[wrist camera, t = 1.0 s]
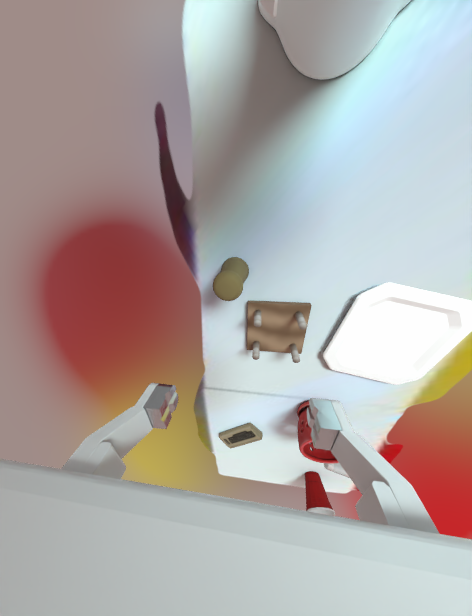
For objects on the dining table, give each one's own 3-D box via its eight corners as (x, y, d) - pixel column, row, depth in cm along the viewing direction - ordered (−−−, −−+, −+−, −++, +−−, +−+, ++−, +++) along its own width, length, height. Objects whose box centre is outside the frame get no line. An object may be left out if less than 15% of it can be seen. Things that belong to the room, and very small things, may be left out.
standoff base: (248, 300, 41) (246, 313, 35) (309, 303, 39) (317, 317, 34) (247, 346, 47) (245, 363, 42) (300, 350, 46) (305, 368, 40)
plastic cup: (323, 481, 78) (332, 522, 68) (298, 477, 80) (304, 517, 69) (327, 470, 73) (339, 513, 63) (301, 467, 75) (308, 508, 64)
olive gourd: (224, 285, 40) (212, 307, 30) (218, 259, 37) (204, 274, 27) (250, 282, 39) (247, 304, 29) (246, 255, 36) (241, 269, 26)
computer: (249, 420, 64) (249, 430, 61) (262, 431, 66) (262, 441, 64) (219, 431, 70) (217, 440, 67) (232, 440, 73) (231, 450, 70)
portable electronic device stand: (350, 441, 62) (362, 471, 54) (335, 450, 65) (344, 479, 58) (329, 433, 61) (339, 462, 54) (315, 442, 65) (323, 471, 57)
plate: (404, 382, 46) (410, 389, 45) (314, 360, 47) (316, 367, 45) (485, 302, 35) (499, 307, 33) (363, 274, 35) (369, 278, 33)
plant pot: (307, 390, 52) (318, 434, 42) (345, 405, 53) (365, 451, 43) (285, 412, 58) (291, 455, 48) (320, 425, 59) (332, 470, 49)
